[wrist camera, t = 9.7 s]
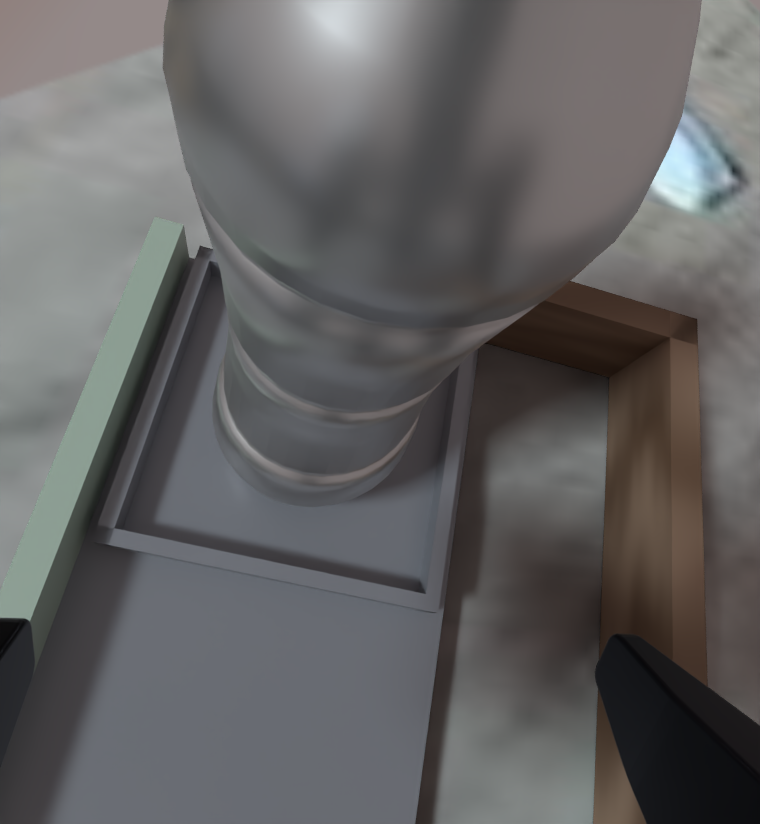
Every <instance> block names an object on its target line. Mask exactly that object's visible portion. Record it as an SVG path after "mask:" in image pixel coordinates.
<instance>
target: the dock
mask: <svg viewBox="0 0 760 824" xmlns="http://www.w3.org/2000/svg"><path fill="white" fill-rule="evenodd" d="M486 343H488V344H492V345H495V346H499V347H503V348H506V349H510V350H513V351H517V352H520V353H524V354H528V355H531V356H535V357H538V358H542V359H546V360H549V361H553V362H556V363H560V364H563V365H567V366H571V367H574V368H578V369H581V370H585V371H589V372H592V373H596V374H599V375H603V376H606V377H609V403H608V431H607V458H606V486H605V513H604V541H603V568H602V596H601V623H600V651H599V659H600V657H601V655H602V652H603V650H604V648H605V646H606V643H607V641H608V639H609V637H610V636H612V635H613V634H616V633H622V634H636V635H638V636H640V637H641V638H643V639H644V640H645V641H647V642H648V643H649V644H651V645H652V646H653V647H655V648H656V649H658V650H659V651H660V652H662V653H663V654H664V655H666V656H667V657H668V658H670V659H671V660H672V661H674V662H675V663H676V664H678V665H679V666H680V667H682V668H683V669H684V670H686V671H687V672H688V673H690V674H691V675H692V676H694V677H695V678H697V679H698V680H699V681H701V682H702V683H703V684H705V685H706V686H707V651H706V616H705V580H704V545H703V510H702V475H701V440H700V405H699V370H698V335H697V319H695V318H691V317H688V316H685V315H681V314H678V313H675V312H671V311H668V310H665V309H661V308H658V307H655V306H652V305H648V304H645V303H642V302H638V301H635V300H632V299H628V298H625V297H622V296H618V295H615V294H612V293H608V292H605V291H602V290H598V289H595V288H592V287H588V286H585V285H582V284H579V283H575V282H572V281H569V282H568V283H566V284H565V285H564V286H563V287H561V288H560V289H559V290H558V291H556V292H555V293H554V294H552V295H551V296H550V297H549V298H547V299H546V300H545V301H543V302H541V303H539V304H538V305H536V306H535V307H534V308H533V309H531V310H530V311H529V312H527V313H526V314H525V315H523V316H522V317H520V318H519V319H518V320H516V321H515V322H513V323H512V324H511V325H509V326H508V327H507V328H505V329H504V330H502V331H501V332H500V333H498V334H497V335H495V336H494V337H493V338H491V339H490V340H489V341H487V342H486ZM707 687H708V686H707ZM593 824H646V821H645V819H644V817H643V814H642V812H641V810H640V807H639V805H638V802H637V800H636V798H635V795H634V793H633V790H632V788H631V785H630V783H629V780H628V778H627V775H626V772H625V770H624V767H623V764H622V761H621V758H620V755H619V752H618V749H617V746H616V742H615V739H614V736H613V733H612V730H611V727H610V724H609V721H608V718H607V715H606V711H605V708H604V705H603V702H602V699H601V696H600V693H599V690H598V706H597V734H596V761H595V789H594V816H593Z"/></svg>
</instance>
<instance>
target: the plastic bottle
mask: <svg viewBox="0 0 760 824" xmlns="http://www.w3.org/2000/svg"><path fill="white" fill-rule="evenodd" d="M701 1H702V0H169V2H168V7H167V12H166V19H165V23H164V42H163V71H164V75H165V79H166V84H167V88H168V92H169V96H170V101H171V105H172V110H173V115H174V120H175V125H176V129H177V134H178V138H179V142H180V146H181V150H182V154H183V159H184V163H185V167H186V170H187V172H188V174H189V176H190V178H191V182H192V186H193V190H194V193H195V196H196V199H197V202H198V205H199V208H200V211H201V214H202V217H203V220H204V223H205V226H206V229H207V232H208V235H209V238H210V241H211V244H212V247H213V250H214V253H215V256H216V259H217V262H218V265H219V268H220V272H221V278H222V284H223V291H224V297H225V303H226V307H227V316H228V322H229V329H228V337H227V345H226V352H225V354H224V357H223V359H222V361H221V363H220V366H219V371H218V375H217V380H216V385H215V389H214V394H213V399H212V420H213V425H214V429H215V434H216V438H217V441H218V443H219V445H220V448H221V450H222V452H223V454H224V456H225V458H226V459H227V461H228V462H229V463H230V465H231V466H232V467H233V469H234V470H235V471H236V473H237V474H238V475H239V476H240V477H241V478H242V479H244V480H245V481H246V482H247V483H248V484H249V485H251V486H252V487H253V488H254V489H255V490H256V491H258V492H259V493H261V494H263V495H265V496H267V497H269V498H270V499H272V500H275V501H278V502H281V503H284V504H288V505H291V506H300V507H319V506H328V505H335V504H338V503H341V502H345V501H348V500H351V499H354V498H356V497H358V496H360V495H362V494H364V493H366V492H367V491H369V490H371V489H373V488H374V487H375V486H376V485H378V484H379V483H380V482H381V481H382V480H384V479H385V478H386V477H387V476H388V475H389V474H390V473H391V471H392V470H393V469H394V468H395V466H396V465H397V464H398V463H399V461H400V460H401V458H402V456H403V454H404V452H405V450H406V448H407V446H408V444H409V442H410V440H411V438H412V436H413V434H414V432H415V429H416V426H417V422H418V419H419V415H420V412H421V410H422V408H423V407H424V405H425V403H426V402H427V400H428V398H429V396H430V395H431V393H432V391H433V390H434V389H435V388H436V387H437V386H438V385H439V384H440V383H441V382H442V381H443V380H444V379H445V378H446V377H448V376H449V375H450V374H451V373H452V372H453V371H454V370H455V369H456V368H457V367H458V366H459V365H460V364H461V363H462V362H463V361H464V360H465V359H466V358H467V357H468V356H469V355H470V354H471V353H472V352H473V351H475V350H476V349H477V348H479V347H480V346H482V345H483V344H484V343H486V342H487V341H489V340H490V339H491V338H493V337H494V336H495V335H497V334H498V333H500V332H501V331H502V330H504V329H505V328H507V327H508V326H509V325H511V324H512V323H513V322H515V321H516V320H518V319H519V318H520V317H522V316H523V315H525V314H526V313H527V312H529V311H530V310H531V309H533V308H534V307H535V306H536V305H538V304H539V303H541V302H543V301H545V300H546V299H547V298H549V297H550V296H551V295H552V294H554V293H555V292H556V291H558V290H559V289H560V288H561V287H563V286H564V285H565V284H566V283H568V282H569V281H570V280H571V279H573V278H574V277H575V276H576V275H577V274H578V273H579V272H581V271H582V270H583V269H584V268H585V267H586V266H587V265H588V264H589V263H591V262H592V261H593V260H594V259H595V258H596V257H597V256H598V255H600V254H601V253H602V252H603V251H604V250H606V249H607V248H608V247H609V246H610V245H611V244H613V243H614V242H615V241H616V239H617V238H618V237H619V235H620V234H621V233H622V231H623V230H624V229H625V227H626V226H627V225H628V223H629V222H630V221H631V219H632V218H633V217H634V216H635V214H636V213H637V211H638V209H639V207H640V205H641V203H642V201H643V199H644V197H645V195H646V193H647V191H648V189H649V187H650V185H651V183H652V181H653V179H654V177H655V175H656V173H657V171H658V169H659V167H660V165H661V163H662V161H663V159H664V157H665V155H666V153H667V151H668V149H669V147H670V145H671V142H672V140H673V137H674V135H675V132H676V129H677V127H678V124H679V122H680V119H681V117H682V113H683V107H684V102H685V97H686V91H687V86H688V80H689V75H690V70H691V64H692V59H693V53H694V48H695V43H696V37H697V32H698V26H699V21H700V11H701Z"/></svg>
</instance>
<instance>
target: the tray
mask: <svg viewBox="0 0 760 824" xmlns="http://www.w3.org/2000/svg"><path fill="white" fill-rule="evenodd" d="M228 329H229V322H228V316H227V307H226V303H225V297H224V291H223V284H222V278H221V272H220V268H219V265H218V262H217V259H216V256H215V253H214V250H213V249H210V248H206V247H203V246H200V247H199V250H198V253H197V256H196V258H195V259H192V258H189V254H188V248H187V242H186V236H185V230H184V225H182V224H179V223H175V222H172V221H168V220H165V219H161V218H158V217H155V218H154V220H153V223H152V225H151V228H150V230H149V232H148V235H147V237H146V240H145V242H144V244H143V247H142V249H141V252H140V254H139V257H138V259H137V261H136V264H135V266H134V269H133V271H132V273H131V276H130V278H129V281H128V283H127V286H126V288H125V290H124V293H123V295H122V298H121V300H120V302H119V305H118V307H117V310H116V312H115V315H114V317H113V319H112V322H111V324H110V327H109V329H108V331H107V334H106V336H105V339H104V341H103V343H102V346H101V348H100V351H99V353H98V356H97V358H96V360H95V363H94V365H93V368H92V370H91V372H90V375H89V377H88V380H87V382H86V385H85V387H84V389H83V392H82V394H81V397H80V399H79V401H78V404H77V406H76V409H75V411H74V414H73V416H72V418H71V421H70V423H69V426H68V428H67V430H66V433H65V435H64V438H63V440H62V443H61V445H60V447H59V450H58V452H57V455H56V457H55V459H54V462H53V464H52V467H51V469H50V471H49V474H48V476H47V479H46V481H45V484H44V486H43V488H42V491H41V493H40V496H39V498H38V500H37V503H36V505H35V508H34V510H33V513H32V515H31V517H30V520H29V522H28V525H27V527H26V529H25V532H24V534H23V537H22V539H21V542H20V544H19V546H18V549H17V551H16V554H15V556H14V558H13V561H12V563H11V566H10V568H9V571H8V573H7V575H6V578H5V580H4V583H3V585H2V587H1V590H0V618H25V619H28V620H29V621H30V623H31V627H32V636H33V645H34V655H35V668H34V673H33V677H32V680H31V683H30V686H29V689H28V692H27V694H26V697H25V700H24V703H23V706H22V709H21V711H20V714H19V717H18V720H17V723H16V725H15V728H14V731H13V734H12V737H11V740H10V742H9V745H8V748H7V751H6V754H5V757H4V759H3V762H2V765H1V768H0V824H415V821H416V814H417V806H418V799H419V791H420V784H421V776H422V769H423V761H424V754H425V746H426V739H427V732H428V724H429V717H430V709H431V702H432V694H433V687H434V679H435V672H436V664H437V657H438V649H439V642H440V634H441V627H442V619H443V612H444V604H445V597H446V590H447V582H448V575H449V567H450V560H451V552H452V545H453V537H454V530H455V522H456V515H457V507H458V500H459V492H460V485H461V477H462V470H463V463H464V455H465V448H466V440H467V433H468V425H469V418H470V410H471V403H472V395H473V388H474V380H475V373H476V365H477V358H478V350H479V348H477V349H476V350H475V351H473V352H472V353H471V354H470V355H469V356H468V357H467V358H466V359H465V360H464V361H463V362H462V363H461V364H460V365H459V366H458V367H457V368H456V369H455V370H454V371H453V372H452V373H451V374H450V375H449V376H448V377H446V378H445V379H444V380H443V381H442V382H441V383H440V384H439V385H438V386H437V387H436V388H435V389H434V390H433V391H432V393H431V395H430V396H429V398H428V400H427V402H426V403H425V405H424V407H423V408H422V410H421V412H420V415H419V419H418V422H417V426H416V429H415V432H414V434H413V436H412V438H411V440H410V442H409V444H408V446H407V448H406V450H405V452H404V454H403V456H402V458H401V460H400V461H399V463H398V464H397V465H396V466H395V468H394V469H393V470H392V471H391V473H390V474H389V475H388V476H387V477H386V478H385V479H384V480H382V481H381V482H380V483H379V484H378V485H376V486H375V487H374V488H373V489H371V490H369V491H367V492H366V493H364V494H362V495H360V496H358V497H356V498H354V499H351V500H348V501H345V502H341V503H338V504H335V505H328V506H319V507H300V506H291V505H288V504H284V503H281V502H278V501H275V500H272V499H270V498H269V497H267V496H265V495H263V494H261V493H259V492H258V491H256V490H255V489H254V488H253V487H252V486H251V485H249V484H248V483H247V482H246V481H245V480H244V479H242V478H241V477H240V476H239V475H238V474H237V473H236V471H235V470H234V469H233V467H232V466H231V465H230V463H229V462H228V461H227V459H226V458H225V456H224V454H223V452H222V450H221V448H220V445H219V443H218V441H217V438H216V434H215V429H214V425H213V420H212V399H213V394H214V389H215V385H216V380H217V375H218V371H219V366H220V363H221V361H222V359H223V357H224V354H225V352H226V345H227V337H228Z"/></svg>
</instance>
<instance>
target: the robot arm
mask: <svg viewBox="0 0 760 824" xmlns="http://www.w3.org/2000/svg"><path fill="white" fill-rule="evenodd" d="M34 668H35V655H34V645H33V636H32V627H31V623H30V621H29V620H28V619H25V618H0V768H1V765H2V762H3V759H4V757H5V754H6V751H7V748H8V745H9V742H10V740H11V737H12V734H13V731H14V728H15V725H16V723H17V720H18V717H19V714H20V711H21V709H22V706H23V703H24V700H25V697H26V694H27V692H28V689H29V686H30V683H31V680H32V677H33V673H34ZM595 678H596V683H597V687H598V690H599V693H600V696H601V699H602V702H603V705H604V708H605V711H606V715H607V718H608V721H609V724H610V727H611V730H612V733H613V736H614V739H615V742H616V746H617V749H618V752H619V755H620V758H621V761H622V764H623V767H624V770H625V772H626V775H627V778H628V780H629V783H630V785H631V788H632V790H633V793H634V795H635V798H636V800H637V802H638V805H639V807H640V810H641V812H642V814H643V817H644V819H645V821H646V824H760V725H758V724H757V723H756V722H754V721H753V720H752V719H750V718H749V717H748V716H746V715H745V714H744V713H742V712H741V711H740V710H738V709H737V708H736V707H734V706H733V705H731V704H730V703H729V702H727V701H726V700H725V699H723V698H722V697H721V696H719V695H718V694H717V693H715V692H714V691H713V690H711V689H710V688H709V687H707V686H706V685H705V684H703V683H702V682H701V681H699V680H698V679H697V678H695V677H694V676H692V675H691V674H690V673H688V672H687V671H686V670H684V669H683V668H682V667H680V666H679V665H678V664H676V663H675V662H674V661H672V660H671V659H670V658H668V657H667V656H666V655H664V654H663V653H662V652H660V651H659V650H658V649H656V648H655V647H653V646H652V645H651V644H649V643H648V642H647V641H645V640H644V639H643V638H641V637H640V636H638V635H636V634H622V633H616V634H613V635H612V636H610V637H609V639H608V641H607V643H606V646H605V648H604V650H603V652H602V655H601V657H600V659H599V661H598V664H597V666H596V671H595Z"/></svg>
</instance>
